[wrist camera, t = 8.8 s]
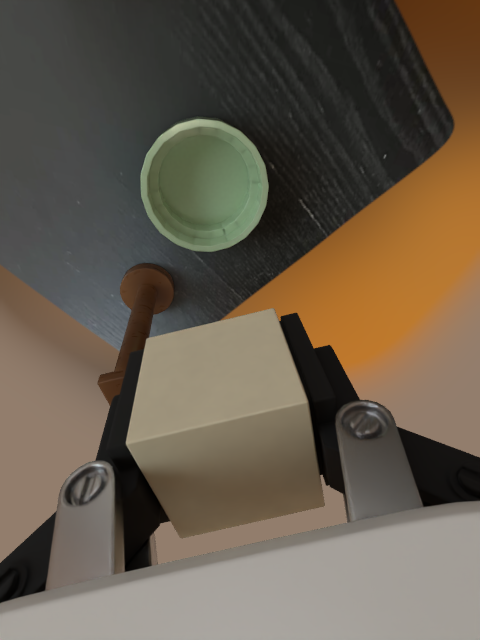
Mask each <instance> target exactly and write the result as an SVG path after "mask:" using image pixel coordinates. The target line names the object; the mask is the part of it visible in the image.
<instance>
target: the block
mask: <svg viewBox="0 0 480 640" xmlns="http://www.w3.org/2000/svg"><path fill="white" fill-rule="evenodd" d="M126 445H127V447H128V449H129V451H130V452H131V454H132V456H133V457H134V459H135V461H136V463H137V464H138V466H139V468H140V469H141V471H142V473H143V475H144V476H145V478H146V480H147V482H148V483H149V485H150V487H151V488H152V490H153V492H154V494H155V495H156V497H157V499H158V500H159V502H160V504H161V506H162V507H163V509H164V511H165V512H166V514H167V516H168V518H169V519H170V521H171V523H172V525H173V526H174V528H175V530H176V531H177V533H178V535H179V537H180V538H186V537H190V536H194V535H199V534H203V533H208V532H212V531H216V530H221V529H226V528H230V527H234V526H239V525H243V524H248V523H252V522H256V521H261V520H266V519H270V518H274V517H279V516H283V515H288V514H292V513H297V512H301V511H306V510H309V509H314V508H319V507H323V506H325V503H324V497H323V490H322V484H321V479H320V471H319V465H318V459H317V452H316V446H315V440H314V434H313V427H312V421H311V415H310V408H309V402H308V399H307V396H306V393H305V391H304V388H303V385H302V383H301V380H300V377H299V374H298V372H297V369H296V366H295V363H294V361H293V358H292V355H291V353H290V350H289V347H288V344H287V342H286V339H285V336H284V334H283V331H282V328H281V325H280V323H279V320H278V317H277V315H276V312H275V309H273V308H272V309H269V310H264V311H260V312H256V313H252V314H248V315H243V316H239V317H235V318H231V319H227V320H222V321H218V322H214V323H210V324H206V325H201V326H197V327H193V328H189V329H185V330H180V331H176V332H172V333H168V334H164V335H160V336H155V337H151V338H147V339H146V344H145V349H144V354H143V359H142V364H141V369H140V374H139V379H138V384H137V389H136V394H135V399H134V404H133V409H132V414H131V419H130V424H129V429H128V434H127V439H126Z"/></svg>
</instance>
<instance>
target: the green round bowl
mask: <svg viewBox="0 0 480 640" xmlns="http://www.w3.org/2000/svg"><path fill="white" fill-rule="evenodd" d="M140 179H141V196H142V197H141V198H142V200H143V203H144V206H145V209H146V212H147V215H148V217H149V218H150V220H151V221H152V222H153V224H154V225H155V226H156V228H157V229H158V230H159V232H160V233H161V234H163V235H164V236H165V237H167V238H168V239H169V240H171V241H172V242H173V243H175V244H176V245H179V246H182V247H185V248H187V249H190V250H193V251H206V252H213V251H217V250H221V249H225V248H229V247H231V246H233V245H234V244H236V243H238V242H239V241H241V240H243V239H244V238H246V237H247V236H248V234H249V233H250V232H251V231H252V230H253V229H254V228H255V227H256V225H257V224H258V223H259V221H260V218H261V216H262V214H263V212H264V210H265V207H266V204H267V196H268V189H269V184H268V178H267V172H266V166H265V164H264V162H263V160H262V158H261V156H260V154H259V152H258V150H257V148H256V147H255V145H254V144H253V143H252V142H251V141H250V140H249V139H248V138H247V137H246V136H245V135H244V134H243V133H242V132H241V131H240V130H238V129H237V128H236V127H234V126H232V125H230V124H228V123H226V122H224V121H222V120H220V119H217V118H210V117H201V116H198V117H197V116H196V117H193V118H189V119H185V120H181V121H178V122H177V123H175V124H174V125H172V126H171V127H169V128H168V129H167V130H165V131H164V132H163V133H162V134H161V135H160V136H159V137H158V139H157V140H156V142H155V143H154V144H153V146H152V147H151V149H150V150H149V151H148V153H147V155H146V158H145V161H144V164H143V168H142V171H141V176H140Z"/></svg>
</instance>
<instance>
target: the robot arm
mask: <svg viewBox="0 0 480 640" xmlns="http://www.w3.org/2000/svg"><path fill="white" fill-rule="evenodd" d="M279 323H280V325H281V328H282V331H283V334H284V336H285V339H286V342H287V344H288V347H289V350H290V353H291V355H292V358H293V361H294V363H295V366H296V369H297V372H298V374H299V377H300V380H301V383H302V385H303V388H304V391H305V393H306V396H307V399H308V402H309V408H310V415H311V421H312V427H313V434H314V440H315V446H316V452H317V459H318V465H319V471H320V475H323V477H324V480H325V483H326V485H327V486H328V485H330V487H331V488H333V489H335V490H337V491H339V492H341V493H343V497H344V504H345V510H346V518H347V523H344V524H339V525H335V526H330V527H326V528H321V529H317V530H312V531H307V532H303V533H298V534H293V535H289V536H284V537H280V538H275V539H271V540H266V541H262V542H257V543H252V544H248V545H244V546H239V547H234V548H230V549H225V550H221V551H216V552H212V553H208V554H203V555H199V556H194V557H190V558H185V559H181V560H176V561H172V562H167V563H163V564H158V562H157V553H156V541H155V535H154V531H155V530H156V529H157V528H158V527H159V526H160V523H164V522H168V521H170V519H169V518H168V516H167V514H166V512H165V511H164V509H163V507H162V506H161V504H160V502H159V500H158V499H157V497H156V495H155V494H154V492H153V490H152V488H151V487H150V485H149V483H148V482H147V480H146V478H145V476H144V475H143V473H142V471H141V469H140V468H139V466H138V464H137V463H136V461H135V459H134V457H133V456H132V454H131V452H130V451H129V449H128V447H127V445H126V439H127V434H128V429H129V424H130V419H131V414H132V409H133V404H134V399H135V394H136V389H137V384H138V379H139V374H140V369H141V364H142V359H143V354H144V349H142V350H138V351H134V352H131V353H130V355H129V359H128V363H127V367H126V371H125V375H124V379H123V383H122V387H121V391H120V394H119V395H115V396H114V397H113V399H112V402H111V405H110V409H109V413H108V417H107V420H106V424H105V428H104V432H103V435H102V439H101V443H100V446H99V450H98V453H97V457H96V461H92V462H89V463H86V464H85V465H83V466H81V467H79V468H78V469H76V470H75V471H74V472H73V473H72V474H71V475H70V476H69V477H68V478H67V479H66V481H65V482H64V484H63V486H62V487H61V490H60V494H59V498H58V506H57V511H56V512H55V513H54V514H53V515H52V516H51V517H50V518H49V519H48V520H46V521H45V522H44V523H43V524H42V525H41V526H40V527H39V528H38V529H37V530H36V531H35V532H33V534H31V535H30V536H29V537H28V538H27V539H26V540H25V541H24V542H23V543H22V544H21V545H20V546H18V547H17V548H16V549H15V550H14V551H13V552H12V553H11V554H10V555H9V556H7V557H6V558H5V559H4V560H3V561H2V562H1V563H0V640H480V458H479V457H477V456H474V455H471V454H469V453H466V452H463V451H461V450H458V449H455V448H453V447H450V446H447V445H445V444H442V443H439V442H436V441H434V440H431V439H428V438H426V437H423V436H421V435H418V434H415V433H412V432H410V431H407V430H405V429H402V428H399V427H397V426H396V423H395V420H394V418H393V416H392V414H391V412H390V411H389V410H388V409H386V408H385V407H384V406H383V405H381V404H379V403H377V402H373V401H369V400H360V399H359V397H358V396H357V393H356V392H355V390H354V388H353V386H352V384H351V382H350V380H349V379H348V377H347V375H346V373H345V371H344V369H343V367H342V365H341V364H340V362H339V360H338V358H337V356H336V354H335V352H334V350H333V349H332V347H331V346H330V345H328V346H323V347H319V348H315V349H314V348H313V346H312V344H311V342H310V340H309V337H308V335H307V333H306V331H305V329H304V327H303V324H302V322H301V320H300V318H299V316H298V314H297V313H293V314H289V315H285V316H281V321H279Z"/></svg>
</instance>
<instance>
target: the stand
mask: <svg viewBox="0 0 480 640" xmlns="http://www.w3.org/2000/svg"><path fill="white" fill-rule="evenodd" d="M120 294H121V297H122V299H123V301H124V303H125V304H126V305H127V306H128V307H129V308H130V309H131V310H132V311H131V315H130V318H129V322H128V325H127V329H126V332H125V335H124V339H123V342H122V346H121V349H120V353H119V356H118V360H117V363H116V367H115V371H114V372H110V373H106V374H102V375H100V377H99V380H98V385H99V387H100V389H101V391H102V392H103V394H104V396H105V398H106V400H107V401H108V403H109V405H111V402H112V399H113V397H114V396H115V395H119V394H120V391H121V387H122V383H123V379H124V375H125V371H126V367H127V363H128V359H129V355H130V353H131V352H134V351H138V350H142V349H145V344H146V339H147V338H149V334H150V329H151V324H152V318H153V315H154V314H158V313H160V312H162V311H164V310H165V309H167V308H168V307H169V305H170V304H171V302H172V300H173V296H174V283H173V280H172V278H171V276H170V275H169V273H168V272H167V271H166V270H164V269H163V268H161V267H160V266H157V265H154V264H149V263H144V264H138V265H136V266H133V267H132V268H130V269H129V270H128V271H127V272H126V274H125V275H124V277H123V280H122V282H121V286H120Z"/></svg>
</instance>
